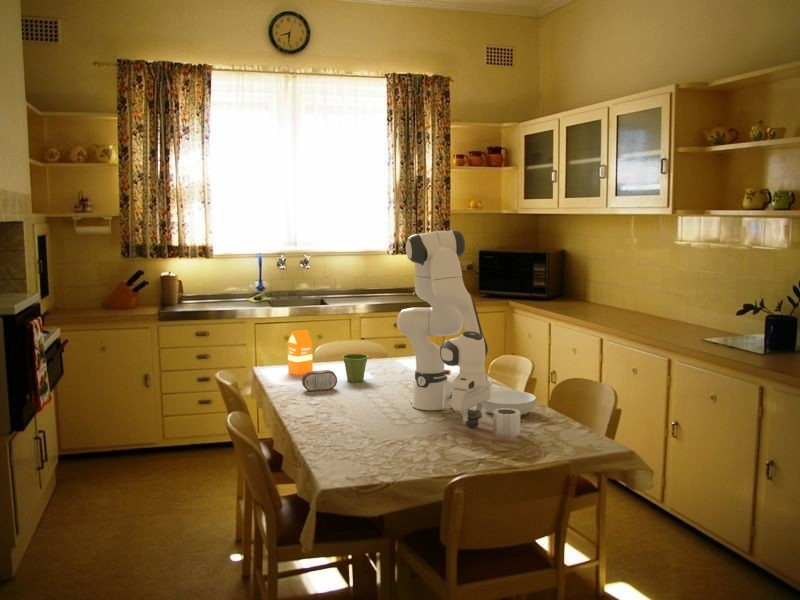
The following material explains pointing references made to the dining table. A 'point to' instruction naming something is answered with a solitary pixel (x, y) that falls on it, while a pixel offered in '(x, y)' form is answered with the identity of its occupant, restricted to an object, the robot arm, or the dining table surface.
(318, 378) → the tin
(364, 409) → the dining table surface
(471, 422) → the control knob
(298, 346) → the orange juice
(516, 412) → the white cylinder
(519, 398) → the serving bowl
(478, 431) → the walnut board
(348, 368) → the plant pot
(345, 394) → the dining table surface
